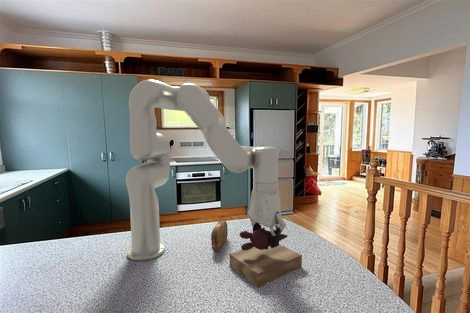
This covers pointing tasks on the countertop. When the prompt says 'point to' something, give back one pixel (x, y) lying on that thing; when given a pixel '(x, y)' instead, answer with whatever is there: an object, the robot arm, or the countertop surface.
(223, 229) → the tin
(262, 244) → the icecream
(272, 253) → the base
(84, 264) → the countertop surface
